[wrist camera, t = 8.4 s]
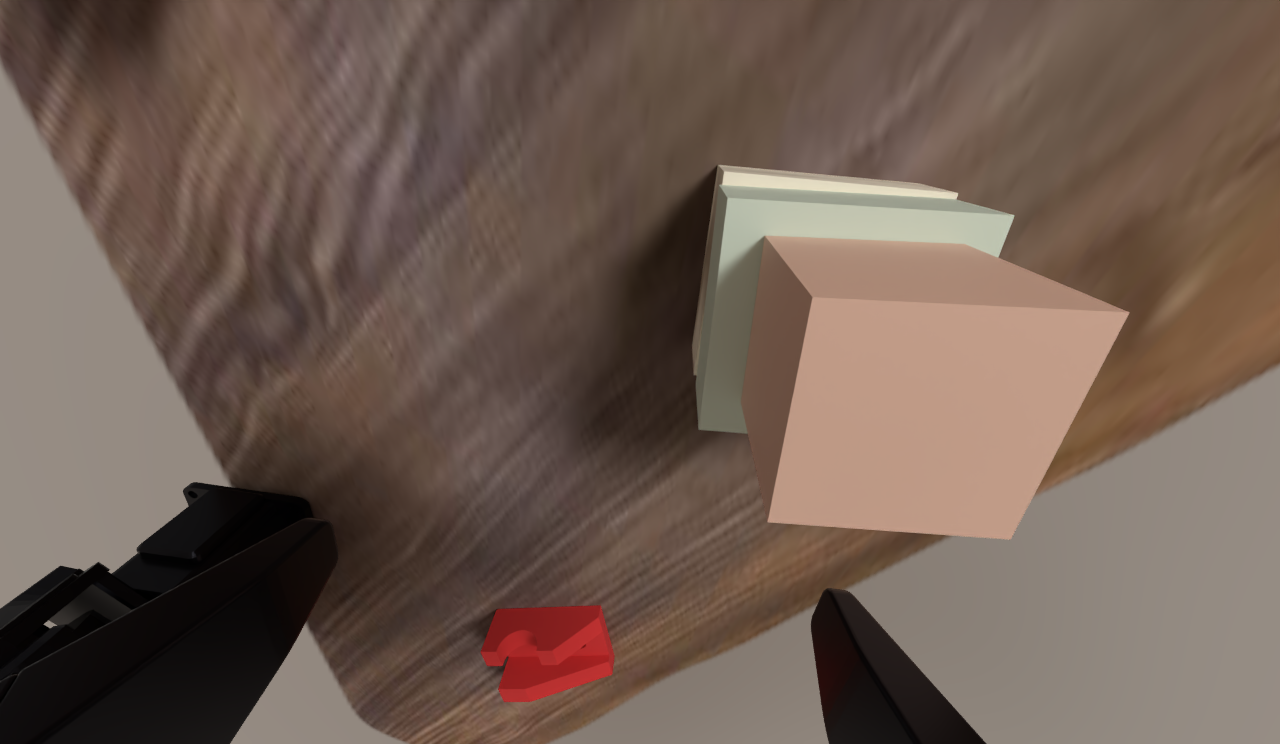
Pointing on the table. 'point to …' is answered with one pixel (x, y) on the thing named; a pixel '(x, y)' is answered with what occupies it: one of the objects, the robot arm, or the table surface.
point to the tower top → (804, 215)
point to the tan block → (912, 383)
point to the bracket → (548, 649)
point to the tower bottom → (801, 182)
